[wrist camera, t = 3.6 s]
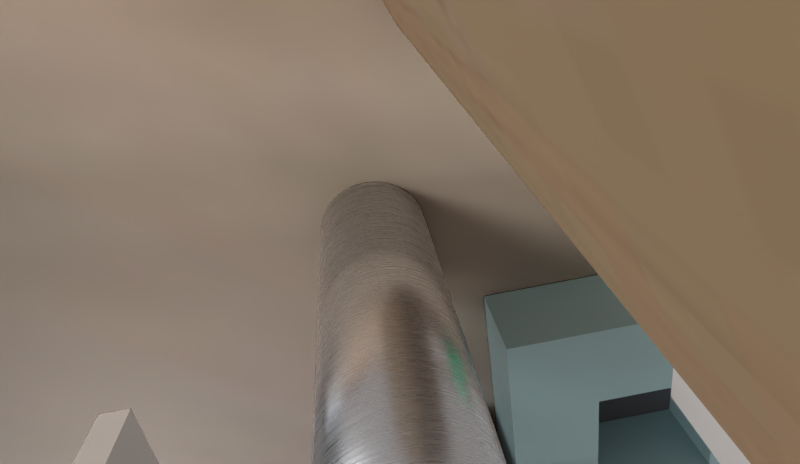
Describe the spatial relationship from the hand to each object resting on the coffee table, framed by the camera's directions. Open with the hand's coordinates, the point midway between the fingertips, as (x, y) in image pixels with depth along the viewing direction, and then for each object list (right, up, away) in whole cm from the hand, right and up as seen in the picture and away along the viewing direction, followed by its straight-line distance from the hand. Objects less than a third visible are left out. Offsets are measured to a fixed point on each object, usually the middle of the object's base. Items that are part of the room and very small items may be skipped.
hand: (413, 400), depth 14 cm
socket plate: (+10, -3, +13) cm, 17 cm away
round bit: (-1, +4, +8) cm, 9 cm away
